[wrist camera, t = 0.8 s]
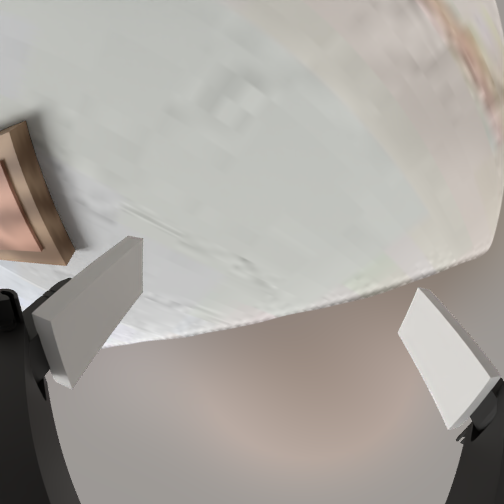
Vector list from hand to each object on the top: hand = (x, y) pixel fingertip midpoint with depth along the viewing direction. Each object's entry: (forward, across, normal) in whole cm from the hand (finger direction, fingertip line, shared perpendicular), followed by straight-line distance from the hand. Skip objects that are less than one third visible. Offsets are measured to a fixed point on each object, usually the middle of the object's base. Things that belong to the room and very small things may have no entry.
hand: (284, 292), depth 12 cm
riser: (+16, -37, -3) cm, 41 cm away
